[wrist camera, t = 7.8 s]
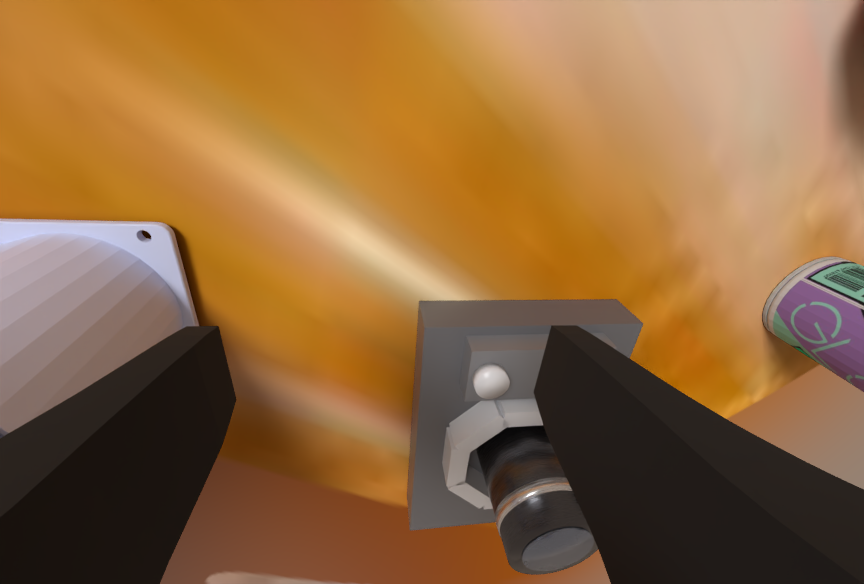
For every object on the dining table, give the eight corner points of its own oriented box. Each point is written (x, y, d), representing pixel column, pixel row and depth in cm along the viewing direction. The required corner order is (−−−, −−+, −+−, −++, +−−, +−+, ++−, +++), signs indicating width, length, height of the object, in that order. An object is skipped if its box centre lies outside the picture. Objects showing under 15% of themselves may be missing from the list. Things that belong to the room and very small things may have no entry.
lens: (471, 466, 23) (503, 585, 17) (475, 411, 20) (514, 530, 15) (543, 456, 23) (596, 569, 18) (555, 402, 21) (619, 513, 16)
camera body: (407, 495, 27) (412, 560, 23) (419, 301, 19) (429, 352, 16) (552, 483, 29) (578, 541, 25) (616, 299, 21) (667, 345, 18)
